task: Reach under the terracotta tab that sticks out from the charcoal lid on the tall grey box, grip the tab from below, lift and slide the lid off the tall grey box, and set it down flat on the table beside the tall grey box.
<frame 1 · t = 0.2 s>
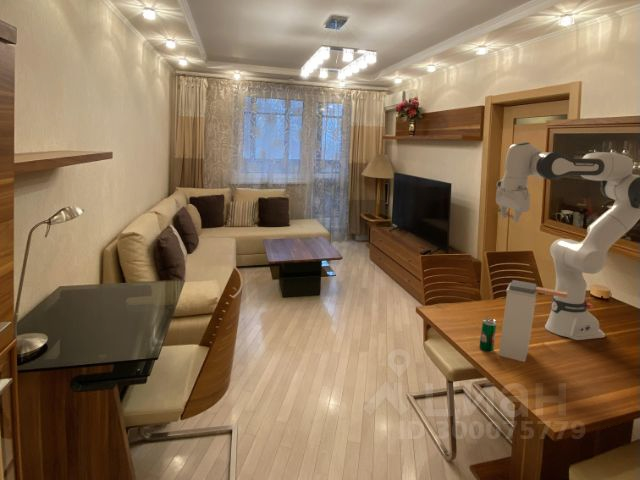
hand: (509, 219, 168), 48 cm above the table, tool pointing down, fingers open, 8 cm apart
lid: (522, 288, 154), point 26 cm above the table, touching tall grey box
tall grey box: (513, 353, 159), on the table
soda can: (486, 350, 162), on the table
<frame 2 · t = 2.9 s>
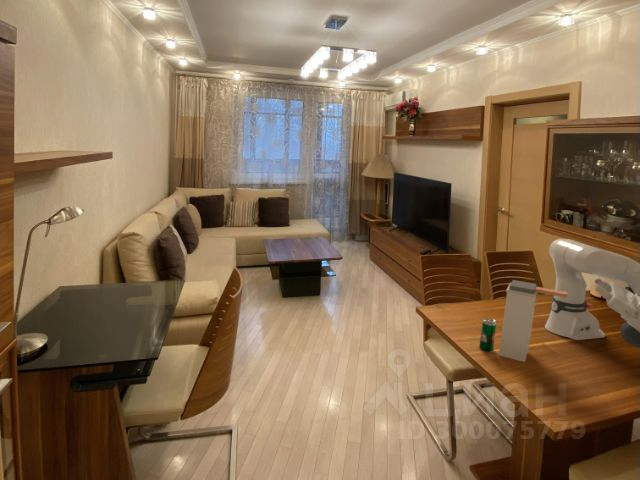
hand: (596, 283, 141), 32 cm above the table, tool pointing upward, fingers open, 8 cm apart
nothing on the table moved.
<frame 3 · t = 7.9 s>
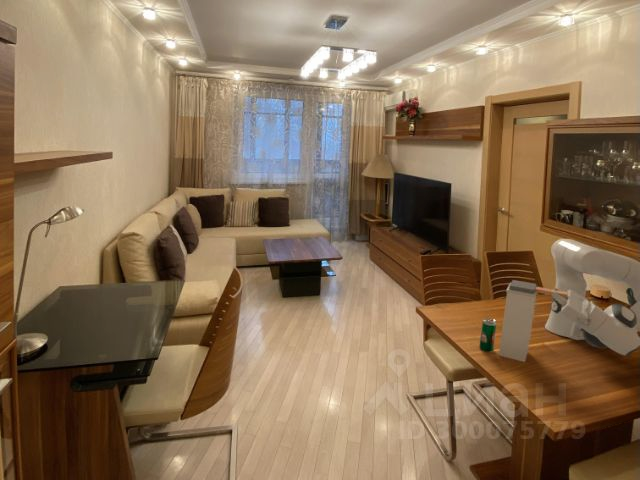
hand: (553, 291, 148), 27 cm above the table, tool pointing upward, fingers closed on lid, 3 cm apart
lid: (522, 288, 154), point 26 cm above the table, touching gripper, tall grey box
everything else where it was.
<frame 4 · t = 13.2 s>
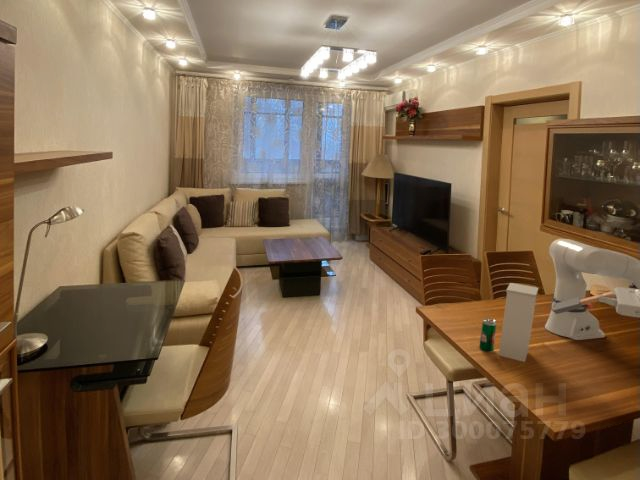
hand: (598, 296, 141), 28 cm above the table, tool horizontal, fingers closed on lid, 3 cm apart
lid: (568, 307, 147), point 22 cm above the table, tilted 30°, touching gripper
everything else where it was.
when the fingers open (5 cm above the table, at t = 17.4 s): lid drops 1 cm, on the table.
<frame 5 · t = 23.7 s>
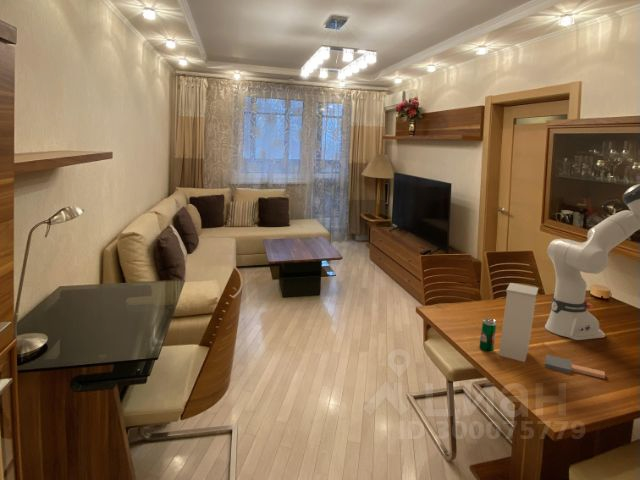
lid: (557, 365, 152), on the table
everything else where it was.
at the end: lid inside the target area (1.2 cm from its centre), on the table; lid tilted 1°; the gripper is holding nothing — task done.
